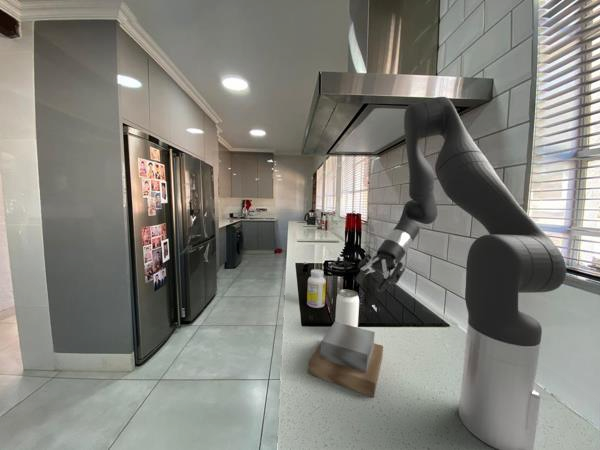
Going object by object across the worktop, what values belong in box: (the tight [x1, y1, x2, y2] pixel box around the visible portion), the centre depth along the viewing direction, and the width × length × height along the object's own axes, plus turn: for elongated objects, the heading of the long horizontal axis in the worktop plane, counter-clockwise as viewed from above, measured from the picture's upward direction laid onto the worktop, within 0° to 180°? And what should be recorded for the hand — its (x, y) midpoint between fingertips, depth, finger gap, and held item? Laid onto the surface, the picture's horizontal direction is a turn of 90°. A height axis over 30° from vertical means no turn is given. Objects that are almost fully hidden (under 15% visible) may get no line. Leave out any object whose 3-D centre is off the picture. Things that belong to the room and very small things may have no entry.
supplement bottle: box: [306, 268, 327, 309], centre depth 89 cm, size 7×7×13 cm
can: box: [334, 289, 360, 328], centre depth 70 cm, size 6×6×12 cm
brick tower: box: [307, 321, 384, 398], centre depth 56 cm, size 14×14×7 cm
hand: (367, 285), depth 73 cm, fingers open, 8 cm apart
